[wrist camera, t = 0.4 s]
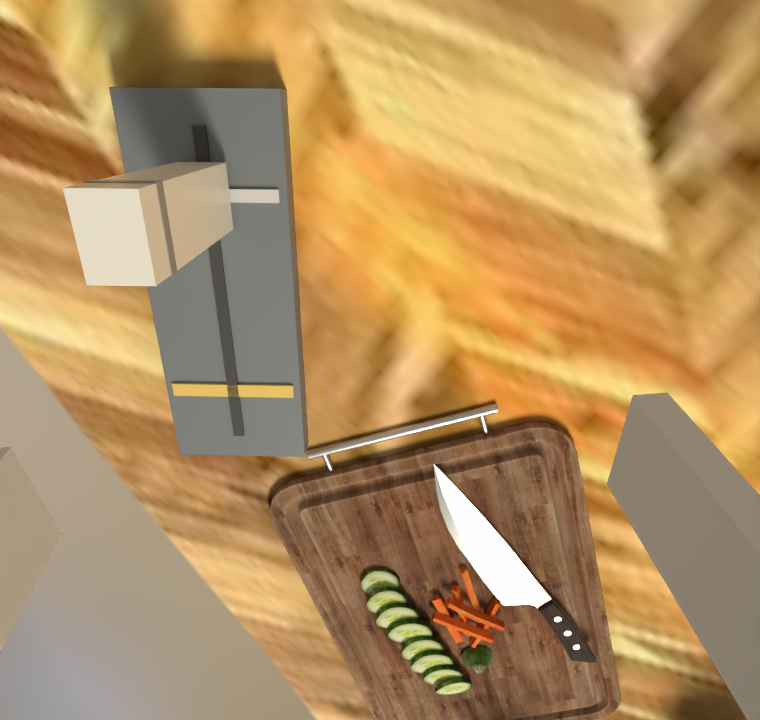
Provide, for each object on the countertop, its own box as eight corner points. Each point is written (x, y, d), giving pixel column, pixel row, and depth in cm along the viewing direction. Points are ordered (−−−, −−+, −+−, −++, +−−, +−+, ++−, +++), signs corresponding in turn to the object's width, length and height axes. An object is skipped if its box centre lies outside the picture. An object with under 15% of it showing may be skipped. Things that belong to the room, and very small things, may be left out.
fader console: (125, 88, 32) (107, 87, 30) (286, 89, 32) (279, 88, 30) (188, 439, 43) (179, 455, 41) (308, 442, 43) (304, 458, 41)
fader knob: (175, 161, 31) (61, 186, 20) (226, 161, 31) (139, 187, 20) (186, 229, 33) (86, 286, 22) (234, 229, 33) (157, 287, 22)
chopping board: (248, 461, 45) (239, 484, 42) (560, 382, 41) (573, 402, 38) (397, 750, 63) (397, 779, 60) (621, 715, 59) (633, 745, 56)
